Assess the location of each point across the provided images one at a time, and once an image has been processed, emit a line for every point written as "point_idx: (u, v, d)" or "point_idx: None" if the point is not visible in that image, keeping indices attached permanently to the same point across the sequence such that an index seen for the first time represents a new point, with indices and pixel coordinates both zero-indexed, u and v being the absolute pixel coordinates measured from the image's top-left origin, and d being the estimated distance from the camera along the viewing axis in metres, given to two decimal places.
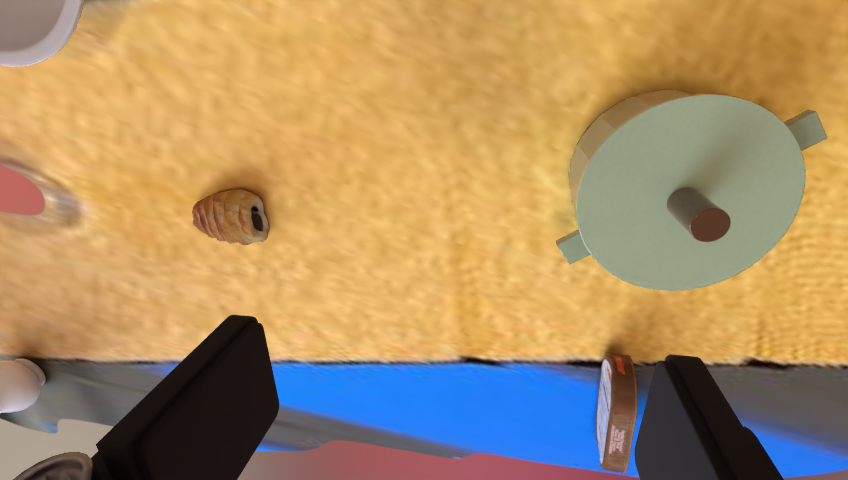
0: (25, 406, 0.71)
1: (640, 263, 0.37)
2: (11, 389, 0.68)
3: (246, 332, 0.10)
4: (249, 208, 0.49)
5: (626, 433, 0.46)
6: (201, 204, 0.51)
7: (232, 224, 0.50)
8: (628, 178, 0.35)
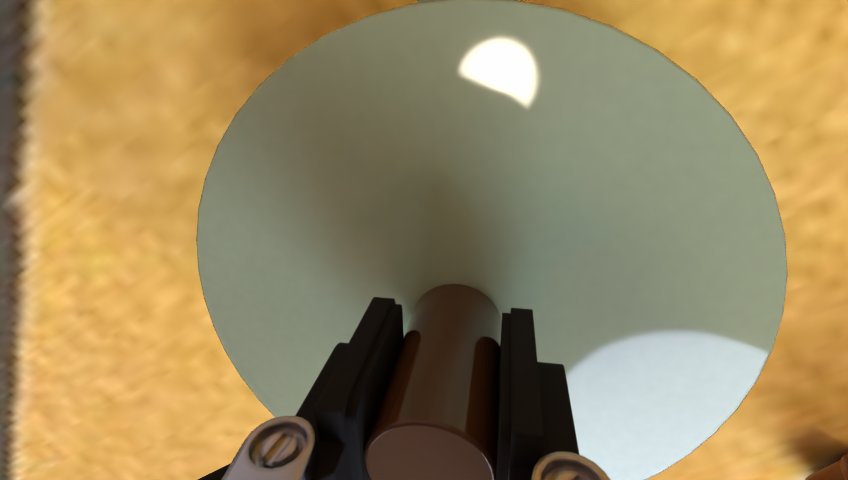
0: None
1: None
2: None
3: (393, 312, 0.10)
4: None
5: None
6: None
7: None
8: None
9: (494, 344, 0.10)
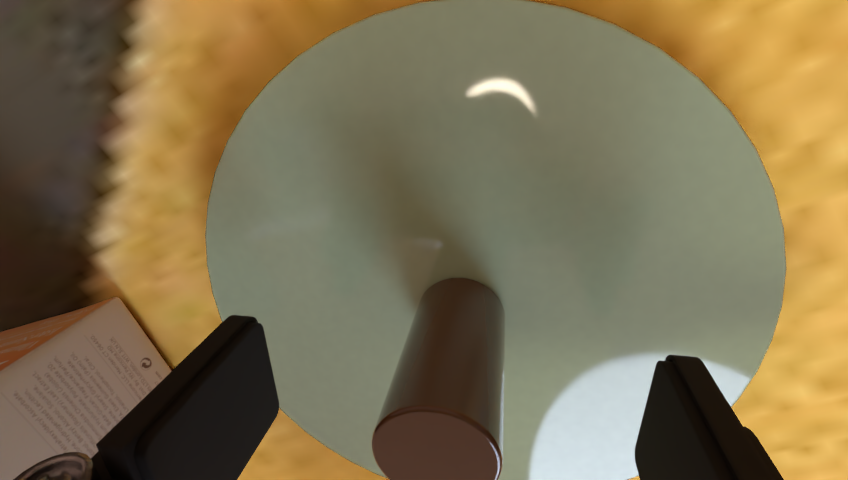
0: None
1: (560, 453, 0.14)
2: None
3: (246, 332, 0.10)
4: None
5: None
6: None
7: None
8: (339, 370, 0.15)
9: (498, 336, 0.11)
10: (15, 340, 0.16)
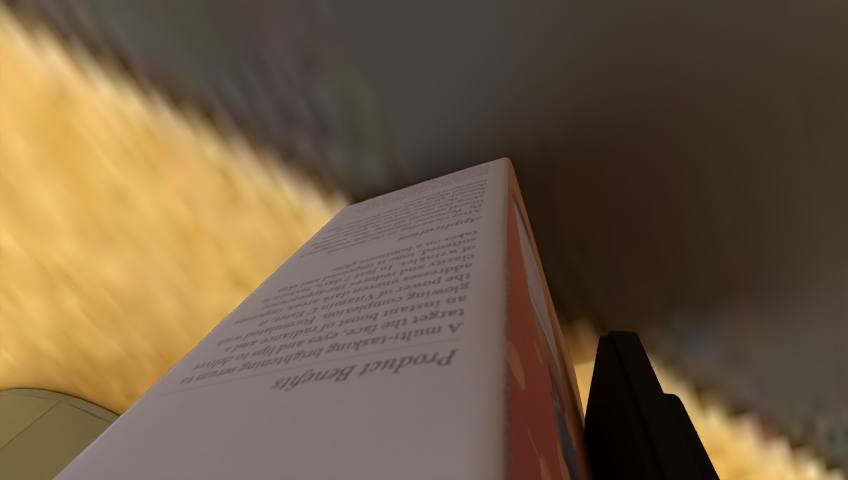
0: None
1: None
2: None
3: None
4: None
5: None
6: None
7: None
8: None
9: None
10: (556, 322, 0.12)
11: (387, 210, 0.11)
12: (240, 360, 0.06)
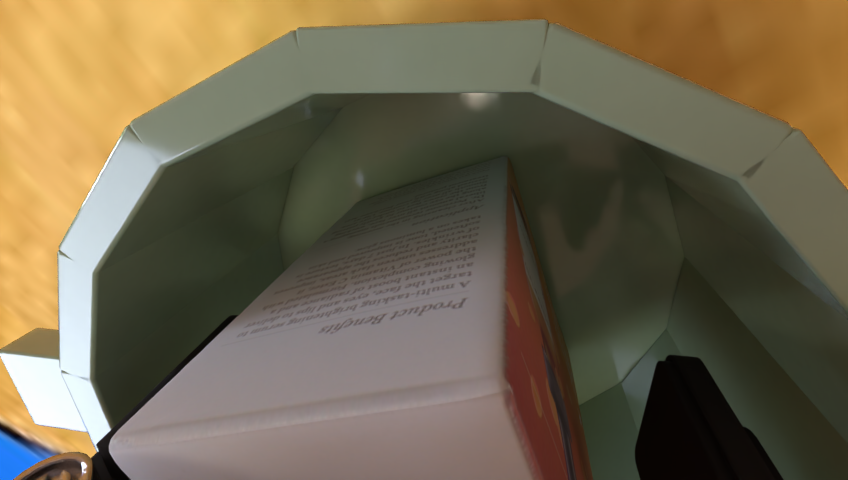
0: None
1: None
2: None
3: None
4: None
5: None
6: None
7: None
8: None
9: None
10: (550, 305, 0.13)
11: (399, 202, 0.12)
12: (286, 318, 0.07)
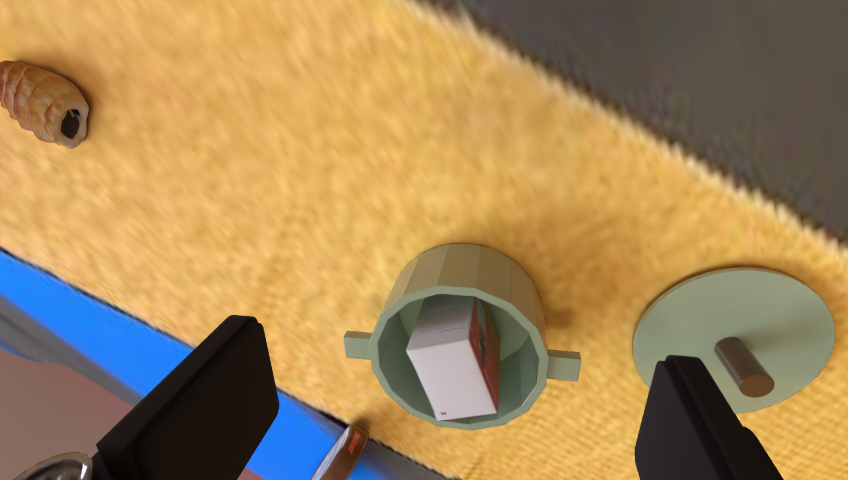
0: None
1: None
2: None
3: (246, 332, 0.10)
4: (64, 110, 0.41)
5: None
6: (7, 68, 0.40)
7: (33, 113, 0.41)
8: (709, 309, 0.39)
9: None
10: (490, 323, 0.42)
11: (445, 294, 0.41)
12: (428, 329, 0.37)
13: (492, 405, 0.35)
